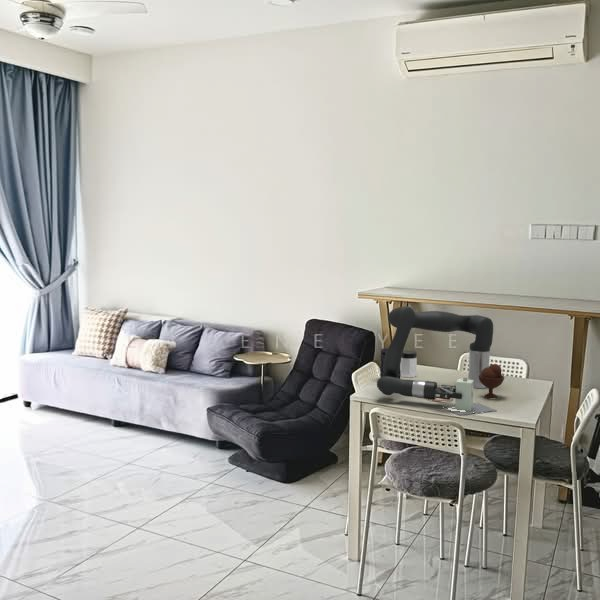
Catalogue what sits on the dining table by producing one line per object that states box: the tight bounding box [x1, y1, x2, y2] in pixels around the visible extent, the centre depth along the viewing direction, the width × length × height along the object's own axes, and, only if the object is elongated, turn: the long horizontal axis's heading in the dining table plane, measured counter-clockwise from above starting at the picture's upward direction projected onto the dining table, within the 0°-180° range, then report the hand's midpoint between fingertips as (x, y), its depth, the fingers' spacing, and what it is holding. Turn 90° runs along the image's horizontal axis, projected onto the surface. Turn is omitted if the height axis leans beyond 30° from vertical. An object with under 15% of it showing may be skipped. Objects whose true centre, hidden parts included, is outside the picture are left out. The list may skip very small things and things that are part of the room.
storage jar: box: [379, 348, 402, 379], centre depth 325 cm, size 10×10×15 cm
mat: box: [443, 402, 497, 417], centre depth 279 cm, size 18×12×1 cm, turn 113°
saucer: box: [427, 398, 454, 402], centre depth 295 cm, size 12×12×1 cm
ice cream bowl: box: [479, 363, 505, 399], centre depth 298 cm, size 11×11×15 cm
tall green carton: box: [454, 377, 474, 411], centre depth 278 cm, size 6×6×13 cm
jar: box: [400, 349, 418, 378], centre depth 337 cm, size 9×8×12 cm
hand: (463, 393), depth 278 cm, fingers open, 8 cm apart
